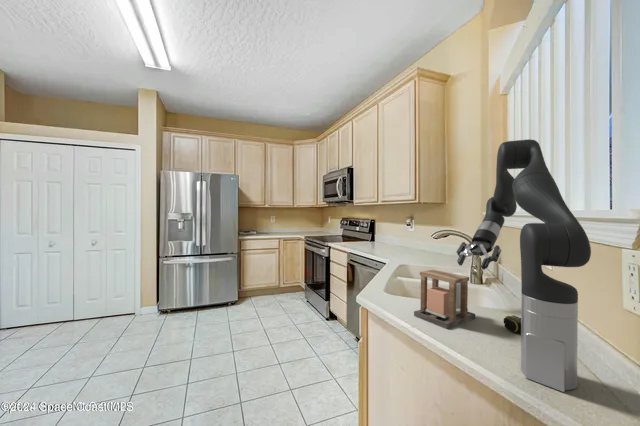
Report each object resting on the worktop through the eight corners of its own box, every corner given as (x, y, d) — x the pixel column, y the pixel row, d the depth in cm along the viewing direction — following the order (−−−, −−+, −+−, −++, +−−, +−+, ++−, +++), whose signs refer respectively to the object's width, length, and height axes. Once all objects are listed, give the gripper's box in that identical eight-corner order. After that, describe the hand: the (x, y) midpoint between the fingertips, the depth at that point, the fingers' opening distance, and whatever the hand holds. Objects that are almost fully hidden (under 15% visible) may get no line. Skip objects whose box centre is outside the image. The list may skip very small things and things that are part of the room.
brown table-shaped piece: (448, 329, 79) (448, 281, 79) (412, 315, 90) (413, 272, 91) (476, 318, 88) (477, 275, 88) (441, 306, 99) (441, 268, 99)
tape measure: (537, 334, 77) (537, 322, 77) (521, 337, 75) (521, 324, 75) (514, 325, 84) (514, 313, 84) (498, 327, 82) (498, 315, 82)
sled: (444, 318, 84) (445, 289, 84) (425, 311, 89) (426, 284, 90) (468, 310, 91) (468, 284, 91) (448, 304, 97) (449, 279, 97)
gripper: (465, 227, 109) (448, 256, 102) (503, 229, 97) (487, 262, 90) (471, 239, 111) (456, 269, 105) (510, 242, 99) (494, 276, 93)
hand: (470, 266), depth 98 cm, fingers open, 8 cm apart
